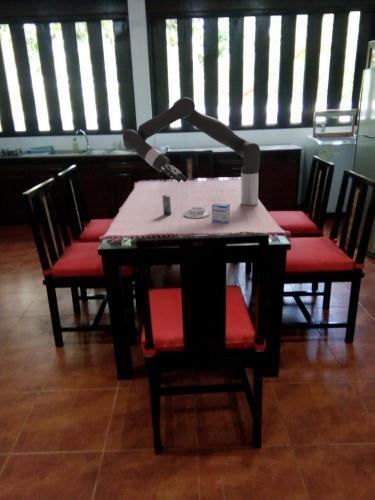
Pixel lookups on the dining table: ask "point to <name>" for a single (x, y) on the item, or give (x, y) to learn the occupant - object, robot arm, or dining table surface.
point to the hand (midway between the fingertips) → (183, 180)
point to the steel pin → (166, 204)
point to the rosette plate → (197, 212)
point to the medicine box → (220, 213)
